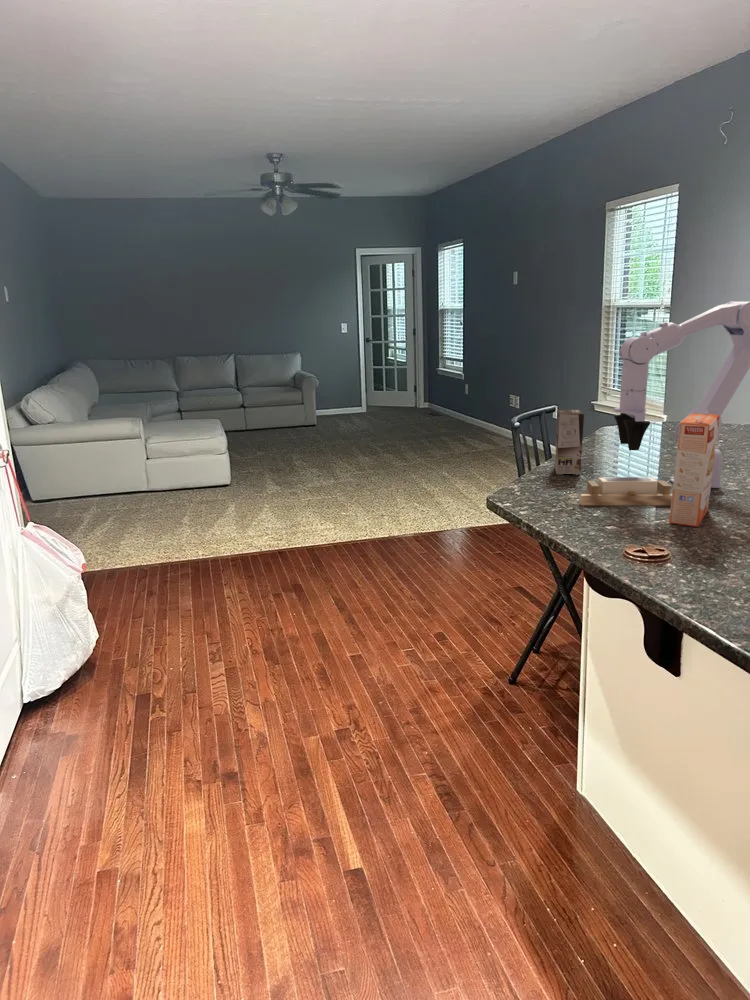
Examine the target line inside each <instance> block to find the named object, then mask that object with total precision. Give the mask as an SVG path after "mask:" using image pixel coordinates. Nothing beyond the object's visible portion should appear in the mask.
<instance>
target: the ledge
mask: <svg viewBox="0 0 750 1000" xmlns="http://www.w3.org/2000/svg"><path fill="white" fill-rule="evenodd" d="M657 481H658V484H657V494H636V492H634V491H629V492H628V494H599V485H598V482H596V481H595V480H587V482H586V483H587V485H586V493H580V496H579V504H580V506H671V501H672V493H671V487H672V486H671V485H670V484H669V483H668V482H666V481H665V480H657Z"/></svg>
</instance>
